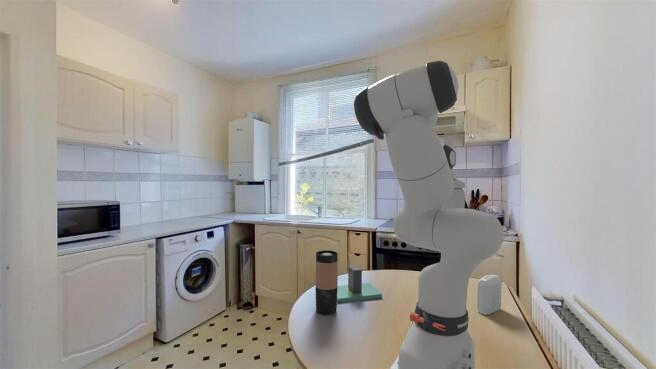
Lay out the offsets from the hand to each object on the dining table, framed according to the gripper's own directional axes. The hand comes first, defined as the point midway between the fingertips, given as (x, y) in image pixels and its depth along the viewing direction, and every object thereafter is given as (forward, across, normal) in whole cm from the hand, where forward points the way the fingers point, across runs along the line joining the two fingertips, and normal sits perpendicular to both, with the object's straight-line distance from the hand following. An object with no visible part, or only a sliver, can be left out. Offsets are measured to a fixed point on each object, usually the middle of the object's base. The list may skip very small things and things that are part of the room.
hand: (439, 220), depth 102 cm
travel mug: (+31, -7, -40) cm, 52 cm away
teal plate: (+31, -17, -26) cm, 44 cm away
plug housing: (+30, -17, -26) cm, 43 cm away
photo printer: (+31, +8, +15) cm, 35 cm away
